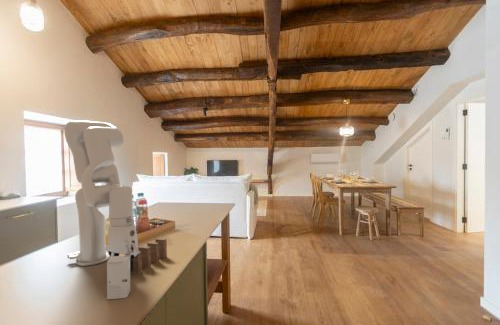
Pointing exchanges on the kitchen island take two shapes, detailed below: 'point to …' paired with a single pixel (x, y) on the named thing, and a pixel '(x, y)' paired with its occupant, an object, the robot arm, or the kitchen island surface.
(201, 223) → the kitchen island surface
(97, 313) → the kitchen island surface
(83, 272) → the kitchen island surface
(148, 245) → the tile
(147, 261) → the tile
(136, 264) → the tile
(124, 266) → the skincare box
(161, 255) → the tile
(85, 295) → the kitchen island surface
